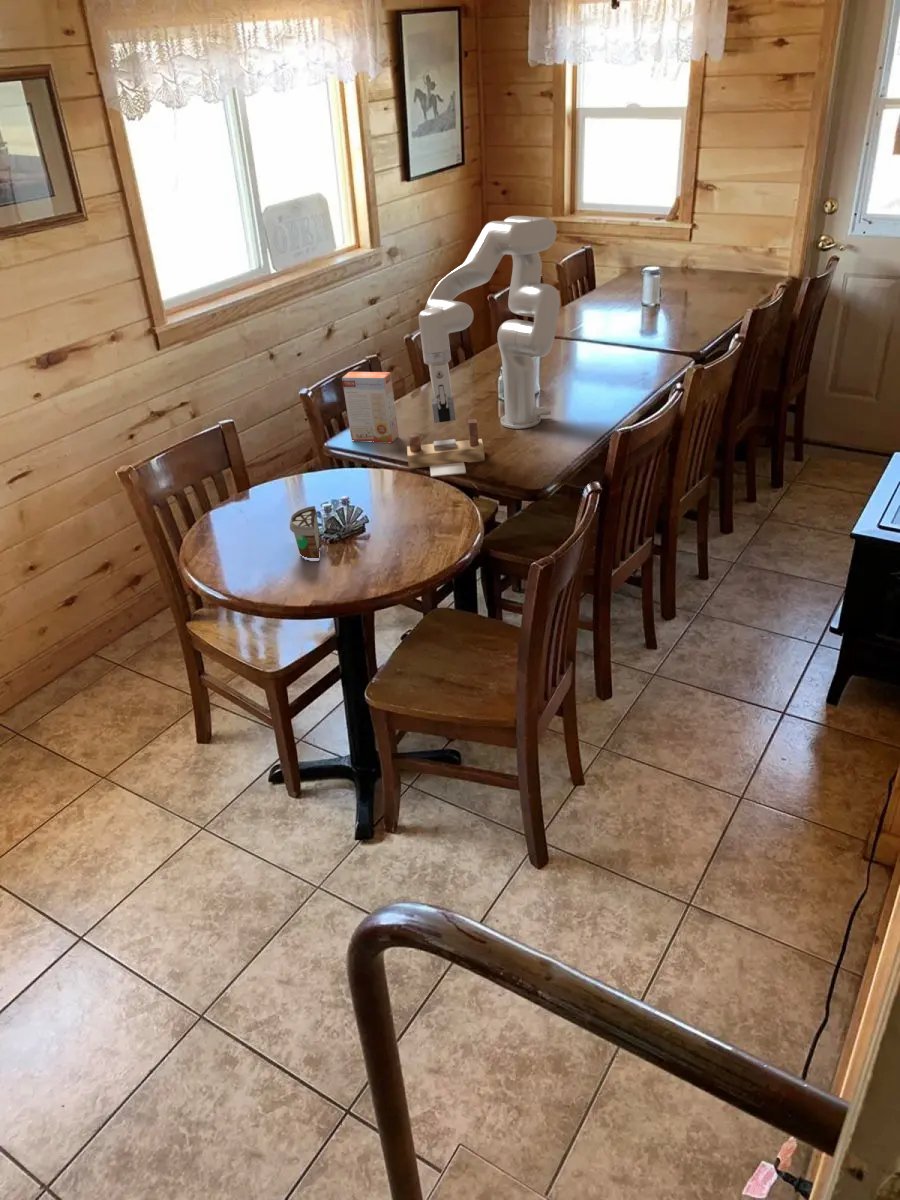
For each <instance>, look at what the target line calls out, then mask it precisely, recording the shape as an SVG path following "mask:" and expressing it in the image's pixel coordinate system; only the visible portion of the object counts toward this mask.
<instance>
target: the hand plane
mask: <svg viewBox="0 0 900 1200" xmlns="http://www.w3.org/2000/svg"><path fill="white" fill-rule="evenodd" d="M467 427H468V438H469V439H467V440H465V439H464V440H457V441H456V438H452V439H443V440H433V443H426V444H422V441H421V435H420V434H419V433H411V434H410V435H408V443H409V446H408V445H407V446H406V452H407V455H406V456H407V462H408V469H417V468H418V469H420V468H428V467H429V468H430V466H433V465H443V464H452V463H462V462H468V463H475V462H476V463H477V462H485V459H486V458H485V448H484V447H485V446H484V443H483V439H482V438H479V431H478V429H479V428H478V420H477V419H476V418H472V419H468V420H467Z"/></svg>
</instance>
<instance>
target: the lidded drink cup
mask: <svg viewBox="0 0 900 1200" xmlns="http://www.w3.org/2000/svg"><path fill="white" fill-rule="evenodd" d="M317 515H318V514H317V509H316V506H315V505H312V506H307V507H304V508H301V509H299V510H297V511H296V512H294V513H293V514H292V515H291V517H290V520H289V529H290V531H291V532H292V533H294V537H295V541H296V544H297V549H298V551H299V555H300V554H301V555H302V556H304V557H307V558H319V548H320V538H321V535H320V528H319V521H318V516H317ZM319 536H320V537H319Z"/></svg>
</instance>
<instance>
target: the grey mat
mask: <svg viewBox="0 0 900 1200" xmlns="http://www.w3.org/2000/svg"><path fill="white" fill-rule="evenodd" d="M466 470H467V469H466V465H465V463H464V462H462V463H452V464H443V465H433V466H429V472H430V473H429V474H430V477H431V478H436V477H443V476H444V477H445V476H454V475H464V474H467V471H466Z"/></svg>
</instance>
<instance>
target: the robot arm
mask: <svg viewBox="0 0 900 1200" xmlns="http://www.w3.org/2000/svg"><path fill="white" fill-rule="evenodd" d="M556 239H557V227H556V224H555V222H554V221H553V220H552V219H550V218H548V217H543V216H531V215H529V216H527V215H511V216H508V217H506V218H505V219H504V220H492V221H490V222H489V221H488V222H487V223H486V224H485V225H484V226H483V228H482V229H481V232H480V234H479V235H478V237H477V238H476V241H475V242H474V244H473V245H472V247H471V249H470V251H469V253H468V255H467V257H466V258H465V259H464V261H463V262H462V264H460V265H459V266H458V267H456V268H455V269H453V270H452V271H451V272H449V273H448V274H447V275H445V276H444V277H443V278H442V279H441V280H440V281H438V283H437V284H436V285H435V286H434V289H433V290H432V292H431V294H430V295H429V297H428V299H427V302H426V304H425V307H424V309H422V310H421V311H420V312H419V313H418V326H419V333H420V334H419V335H420V340H421V341H420V342H421V349H422V356H423V363H424V364H425V365H428V368H429V376H430V383H431V387H432V392H433V395H434V398H435V399H437V400H438V407H439V408H438V415H439V422H438V423H446V422H451V421H450V420H451V419H450V411H449V407H448V401H447V397H450V398H451V397H453V394H452V393H453V392H452V384H451V383H452V382H451V376H450V375H451V374H450V368H449V362H451V360H452V357H451V356H452V355H451V347H450V336H449V334H451V333H457V332H461V331H464V330H466V329H467V328H468V327H469V326H471V325H472V323H473V321H474V316H475V315H474V310H473V309H472V307H471V306H470V305H469V304H468V303H467V302H462V301H458V300H457V301H456V300H454V299H456V297H457V296H459V295H460V294H462V293H464V292H466V291H468V290H471V289H474V288H477V287H480V286H482V285H484V284H487V283H488V282H489V281H490V280H491V278H492V277H493V274H494V273H495V272H496V269H497V268H498V266H499V263H500V262H501V261H502V259H503V257H504V256H505V255H510V256H511V258H512V270H511V271H512V273H511V277H510V278H511V279H510V286H509V293H508V299H507V300H508V301H507V305H508V306H507V307H508V309H509V311H510V312H511V313H513V314H515V315H518V316H523V317H524V316H525V317H528V318H529V317H530V318H533V321H529V320H522V319H508V320H505V321H504V322H503V323H501V324H500V326H499V328H498V330H497V336H496V337H497V344H498V349H499V351H500V356H501V357H500V358H501V365H502V382H503V384H502V385H503V395H504V396H503V399H504V403H503V404H504V415H503V416H501V417H500V419H499V420H500V424H501V425H502V426H503V427H506V428H508V429H528V428H531V427H535V426H537V425H538V424H539V423H540V422H541V416H548V415H551V408H550V407H549V408H546V407H545V406H541V407H538V406H537V404H536V396H535V395H536V394H535V393H536V392H535V366H534V361H533V359H532V357H536V358H542V357H546V356H547V355H548V354H549V353H550V352H551V351H552V350H551V349H553V345H554V342H555V336H556V330H557V325H558V320H559V314H560V313H559V312H560V307H561V298H560V294H559V292H558V289H557V288H556V287H555V286H553V285H552V284H547V283H541V278H542V277H541V276H542V272H543V271H542V269H543V261H542V258H541V256H540V252H543V251H546V250H548V249H550V248H551V247H552V246H553V245H554V243H555V241H556ZM439 396H440V398H439ZM444 396H445V397H444ZM439 400H441V402H440V401H439ZM445 400H446V401H445Z"/></svg>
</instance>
